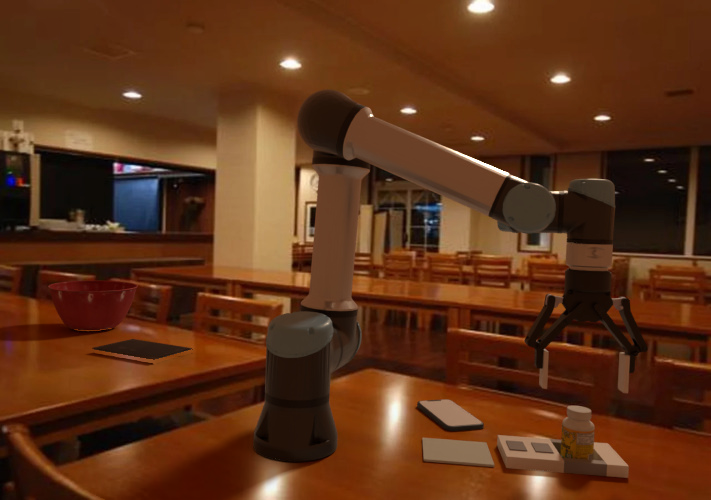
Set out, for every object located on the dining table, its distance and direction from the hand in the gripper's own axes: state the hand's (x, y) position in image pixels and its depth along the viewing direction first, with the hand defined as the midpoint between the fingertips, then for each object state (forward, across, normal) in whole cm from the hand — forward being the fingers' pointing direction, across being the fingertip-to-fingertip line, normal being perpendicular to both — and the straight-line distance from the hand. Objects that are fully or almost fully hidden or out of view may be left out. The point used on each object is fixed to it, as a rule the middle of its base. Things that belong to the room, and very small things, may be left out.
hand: (582, 389), depth 99 cm
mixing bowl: (+11, -140, +86) cm, 165 cm away
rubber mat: (+13, -22, 0) cm, 25 cm away
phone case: (+14, -22, +20) cm, 32 cm away
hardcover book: (+12, -108, +56) cm, 122 cm away
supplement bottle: (+13, 0, 0) cm, 13 cm away
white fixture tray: (+13, -4, 0) cm, 14 cm away
